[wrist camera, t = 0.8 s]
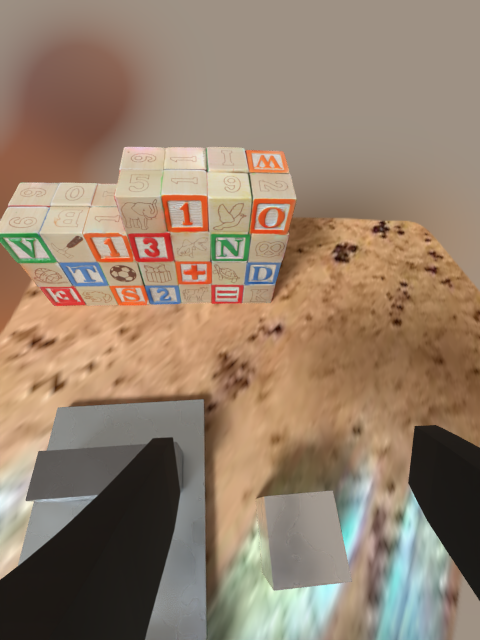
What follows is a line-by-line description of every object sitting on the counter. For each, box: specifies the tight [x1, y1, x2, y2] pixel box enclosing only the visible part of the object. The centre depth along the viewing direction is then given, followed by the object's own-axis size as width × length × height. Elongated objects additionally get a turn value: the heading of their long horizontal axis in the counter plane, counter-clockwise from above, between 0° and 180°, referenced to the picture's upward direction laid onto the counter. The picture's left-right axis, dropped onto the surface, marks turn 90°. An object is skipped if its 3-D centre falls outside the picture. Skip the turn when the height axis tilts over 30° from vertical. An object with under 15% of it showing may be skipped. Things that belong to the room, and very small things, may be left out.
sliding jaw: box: [26, 442, 183, 502], centre depth 19 cm, size 2×8×4 cm, turn 95°
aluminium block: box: [256, 490, 352, 590], centre depth 18 cm, size 4×4×5 cm
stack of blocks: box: [0, 147, 297, 306], centre depth 26 cm, size 21×6×12 cm, turn 94°
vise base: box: [18, 399, 207, 640], centre depth 17 cm, size 20×11×5 cm, turn 4°
